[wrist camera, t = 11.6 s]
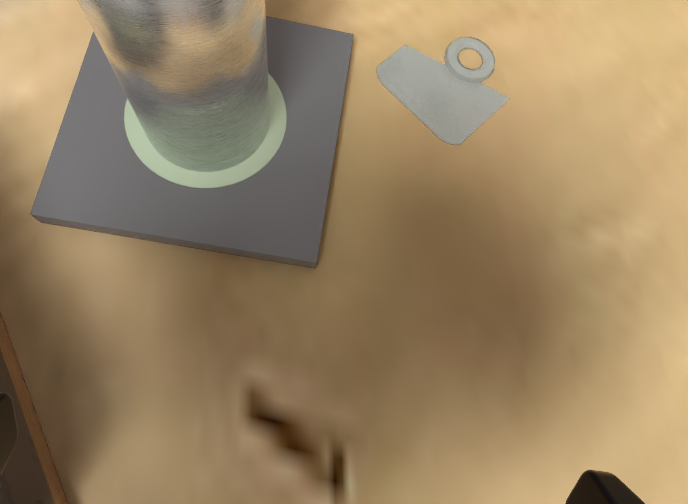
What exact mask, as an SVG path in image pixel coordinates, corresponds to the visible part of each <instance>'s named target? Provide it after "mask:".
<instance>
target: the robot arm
mask: <svg viewBox="0 0 688 504" xmlns="http://www.w3.org/2000/svg"><path fill="white" fill-rule="evenodd" d="M17 437H18V428H17V422H16V416H15V411H14V405H13V400H12V397H11V396H10V395H9V394H8V393H5V392H0V475H1V473H2V471H3V469H4V467H5V465H6V463H7V461H8V459H9V457H10V455H11V453H12V451H13V449H14V447H15V444H16V441H17ZM566 504H645V503H644V502H643V501H642V500H641V499H640V498H639V497H638V496H637V495H635V494H634V493H633V492H632V491H631V490H630V489H629V488H628V487H627V486H626V485H625V484H624V483H623V482H622V481H621V480H620V479H619V478H617V477H616V476H615V475H613V474H611V473H609V472H602V471H595V470H587V471H585V472H584V473H583V474H582V475H581V477H580V478H579V480H578V482H577V483H576V485H575V487H574V488H573V490H572V492H571V493H570V495H569V497H568V498H567V500H566Z"/></svg>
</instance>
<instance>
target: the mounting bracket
mask: <svg viewBox="0 0 688 504" xmlns="http://www.w3.org/2000/svg"><path fill="white" fill-rule="evenodd" d="M464 49H471V50H474V51H476V52H477V53H478V54H479V55H480V56H481V58H482V65H481V67H479V68H477V69H469V68H466V67H464V66H463V65H462V64H461V63H460V61H459V58H458V55H459V52H460V51H462V50H464ZM444 59H445V62H446V65H444V64H442V63H440V62H438V61H436V60H434V59H432V58H430V57H429V56H427V55H425V54H423V53H421V52H419V51H417V50H415V49H413V48H411V47H409V46H407V45H404V46H403V47H401V48H400V49H399V50H398V51H396V52H395V53H394V54H392V55H391V56H390V57H389V58H387V59H386V60H385V61H383V62H382V63H381V64H380V65H378V66H377V76H378V78H379V81H380V82H381V83H382V84H383V85H384V86H385V87H386V88H387V89H388V90H389V91H390V92H391V93H392V94H393V95H394V96H395V97H396V98H397V99H398V100H399V101H400V102H401V103H402V104H404V105H405V106H406V107H407V108H408V109H409V110H410V111H411V112H412V113H413V114H414V115H415V116H416V117H417V118H418V119H419V120H420V121H421V122H422V123H424V124H425V125H426V126H427V127H428V128H429V129H430V130H431V131H432V132H433V133H434V134H435V135H436V136H437V137H438V138H439V139H441V140H442V141H444V142H446V143H448V144H452V145H460V144H461V143H462V142H463V141H464V140H465V139H466V138H467V137H468V136H469V135H471V134H472V133H473V132H474V131H475V130H476V129H477V128H478V127H479V126H480V125H482V124H483V123H484V122H485V121H486V120H487V119H488V118H489V117H490V116H491V115H492V114H494V113H495V112H496V111H497V110H498V109H499V108H500V107H501V106H502V105H503V104H504V103H506V102H507V101H508V100H509V99H510V98H509V97H507V96H505V95H503V94H501V93H499V92H497V91H495V90H493V89H491V88H489V87H487V86H485V85H483V84H481V83H479V82H482V81H484V80H486V79H487V78H489V77H490V75H491V74H492V72H493V71H494V64H495V58H494V55H493V52H492V51H491V49H490V48H489V47H488V46H487V44H485V43H484V42H482V41H480V40H479V39H475V38H472V37H462V38H459V39H457V40H455V41H453V42H452V43H451V44H450V45H449V46H448V47H447V49H446V52H445V57H444Z"/></svg>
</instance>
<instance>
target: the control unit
mask: <svg viewBox="0 0 688 504" xmlns="http://www.w3.org/2000/svg"><path fill="white" fill-rule="evenodd" d="M0 392H5V393H8V394H9V395H10V396H11V397H12V400H13V405H14V411H15V416H16V422H17V428H18V437H17V441H16V444H15V447H14V449H13V451H12V453H11V455H10V457H9V459H8V461H7V463H6V465H5V467H4V469H3V471H2V473H1V475H0V504H68V503H67V500H66V497H65V494H64V492H63V489H62V486H61V483H60V480H59V478H58V475H57V472H56V469H55V466H54V463H53V461H52V458H51V455H50V452H49V449H48V447H47V444H46V441H45V438H44V435H43V432H42V430H41V427H40V424H39V421H38V418H37V416H36V413H35V410H34V407H33V404H32V401H31V399H30V396H29V393H28V390H27V387H26V385H25V382H24V379H23V376H22V373H21V370H20V368H19V365H18V362H17V359H16V356H15V354H14V351H13V348H12V345H11V342H10V339H9V337H8V334H7V331H6V328H5V325H4V323H3V320H2V317H1V314H0Z"/></svg>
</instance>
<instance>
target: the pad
mask: <svg viewBox="0 0 688 504" xmlns="http://www.w3.org/2000/svg"><path fill="white" fill-rule="evenodd" d="M353 36H354V34H350V33H345V32H340V31H335V30H331V29H326V28H321V27H316V26H311V25H306V24H301V23H296V22H291V21H286V20H282V19H277V18H272V17H267V16H266V38H267V64H268V90H269V127H268V131H267V134H266V136H265V139H264V141H263V142H262V144H261V145H260V147H259V148H258V149H257V150H256V152H255V153H254V154H253V155H251V156H250V157H249V158H248V159H246V160H245V161H244V162H242V163H240V164H238V165H236V166H234V167H231V168H229V169H225V170H221V171H215V172H198V171H191V170H187V169H184V168H181V167H178V166H176V165H174V164H172V163H170V162H169V161H167V160H166V159H165V158H163V157H162V156H161V155H160V154H159V153H158V152H157V151H156V150H155V149H154V147H153V146H152V145H151V143H150V141H149V140H148V138H147V136H146V134H145V132H144V130H143V128H142V126H141V124H140V122H139V120H138V118H137V116H136V114H135V112H134V110H133V108H132V106H131V104H130V102H129V100H128V98H127V96H126V94H125V92H124V90H123V88H122V86H121V84H120V83H119V81H118V79H117V77H116V75H115V73H114V71H113V69H112V67H111V65H110V63H109V61H108V59H107V57H106V55H105V53H104V51H103V49H102V47H101V45H100V43H99V41H98V39H97V37H96V35H95V33H94V31H93V34H92V37H91V40H90V43H89V46H88V49H87V51H86V54H85V57H84V60H83V63H82V66H81V69H80V72H79V75H78V78H77V80H76V83H75V86H74V89H73V92H72V95H71V98H70V101H69V104H68V106H67V109H66V112H65V115H64V118H63V121H62V124H61V127H60V130H59V132H58V135H57V138H56V141H55V144H54V147H53V150H52V153H51V156H50V159H49V161H48V164H47V167H46V170H45V173H44V176H43V179H42V182H41V185H40V187H39V190H38V193H37V196H36V199H35V202H34V205H33V208H32V211H31V214H30V215H32V216H33V217H34V218H36V219H37V220H38V221H40V222H42V223H48V224H54V225H60V226H66V227H72V228H78V229H83V230H89V231H95V232H101V233H107V234H113V235H119V236H125V237H131V238H137V239H143V240H149V241H155V242H161V243H167V244H173V245H179V246H185V247H191V248H197V249H203V250H209V251H215V252H221V253H227V254H233V255H239V256H245V257H251V258H257V259H263V260H269V261H275V262H281V263H287V264H293V265H299V266H305V267H311V268H315V267H316V264H317V258H318V252H319V246H320V240H321V234H322V228H323V221H324V215H325V209H326V203H327V197H328V191H329V184H330V178H331V172H332V166H333V160H334V153H335V147H336V141H337V135H338V129H339V123H340V116H341V110H342V104H343V98H344V92H345V86H346V79H347V73H348V67H349V61H350V55H351V48H352V42H353Z"/></svg>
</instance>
